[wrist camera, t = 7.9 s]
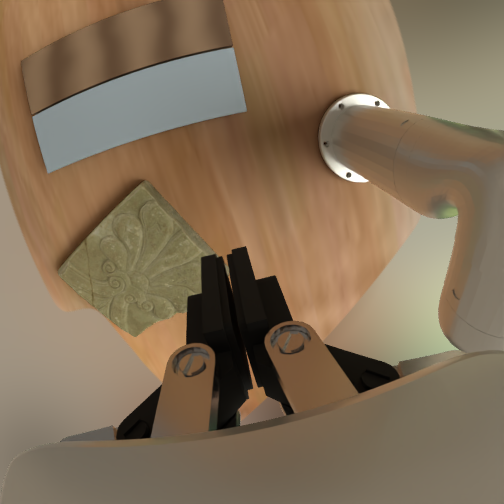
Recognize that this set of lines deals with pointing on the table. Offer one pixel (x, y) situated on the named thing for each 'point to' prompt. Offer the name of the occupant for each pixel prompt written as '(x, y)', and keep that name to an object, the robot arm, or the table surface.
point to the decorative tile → (138, 262)
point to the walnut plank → (123, 48)
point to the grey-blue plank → (140, 106)
